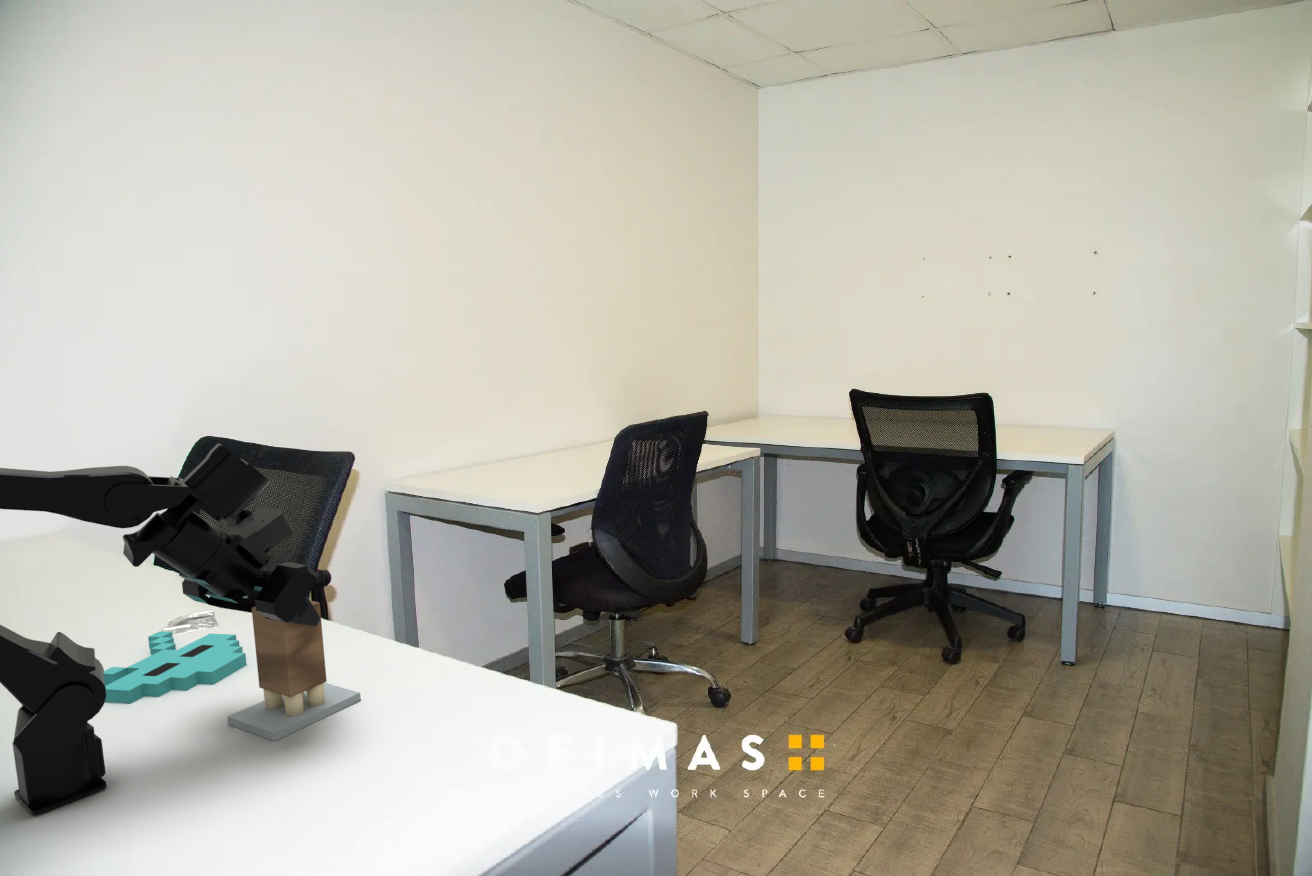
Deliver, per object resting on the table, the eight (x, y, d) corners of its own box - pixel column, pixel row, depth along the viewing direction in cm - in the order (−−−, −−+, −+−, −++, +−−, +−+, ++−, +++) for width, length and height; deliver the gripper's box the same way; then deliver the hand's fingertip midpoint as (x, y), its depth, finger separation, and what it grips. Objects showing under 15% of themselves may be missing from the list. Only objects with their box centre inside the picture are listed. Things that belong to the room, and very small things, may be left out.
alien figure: (43, 701, 111) (176, 710, 107) (41, 685, 111) (174, 693, 107) (161, 645, 131) (276, 650, 127) (159, 631, 131) (275, 636, 126)
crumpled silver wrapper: (214, 618, 143) (213, 610, 143) (219, 629, 137) (218, 621, 137) (160, 628, 139) (159, 620, 139) (163, 640, 133) (162, 631, 133)
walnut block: (290, 697, 100) (282, 615, 99) (259, 687, 103) (251, 607, 102) (326, 681, 104) (319, 602, 103) (295, 672, 107) (288, 596, 106)
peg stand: (274, 741, 97) (271, 711, 96) (227, 724, 102) (225, 696, 101) (360, 700, 107) (358, 673, 107) (314, 686, 112) (312, 661, 111)
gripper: (295, 495, 92) (383, 569, 103) (197, 484, 102) (287, 552, 113) (233, 586, 87) (334, 653, 98) (136, 565, 97) (237, 628, 107)
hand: (297, 617), depth 104 cm, fingers open, 7 cm apart
